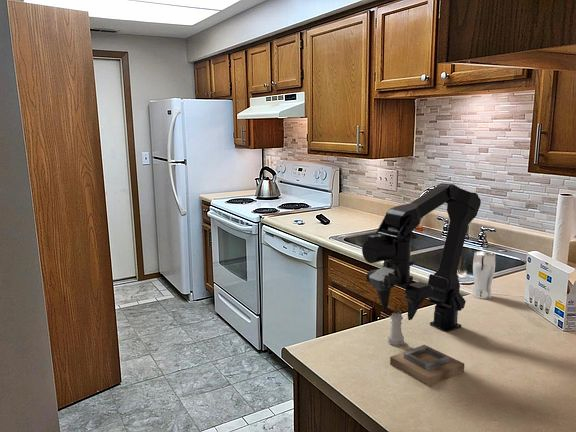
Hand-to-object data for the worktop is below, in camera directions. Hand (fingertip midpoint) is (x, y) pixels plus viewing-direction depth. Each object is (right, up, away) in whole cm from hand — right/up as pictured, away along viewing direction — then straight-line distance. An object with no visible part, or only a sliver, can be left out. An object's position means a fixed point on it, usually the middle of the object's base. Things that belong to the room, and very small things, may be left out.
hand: (397, 314), depth 125 cm
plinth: (+4, -10, -12) cm, 17 cm away
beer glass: (+37, -2, +37) cm, 52 cm away
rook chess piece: (0, -8, +1) cm, 8 cm away
